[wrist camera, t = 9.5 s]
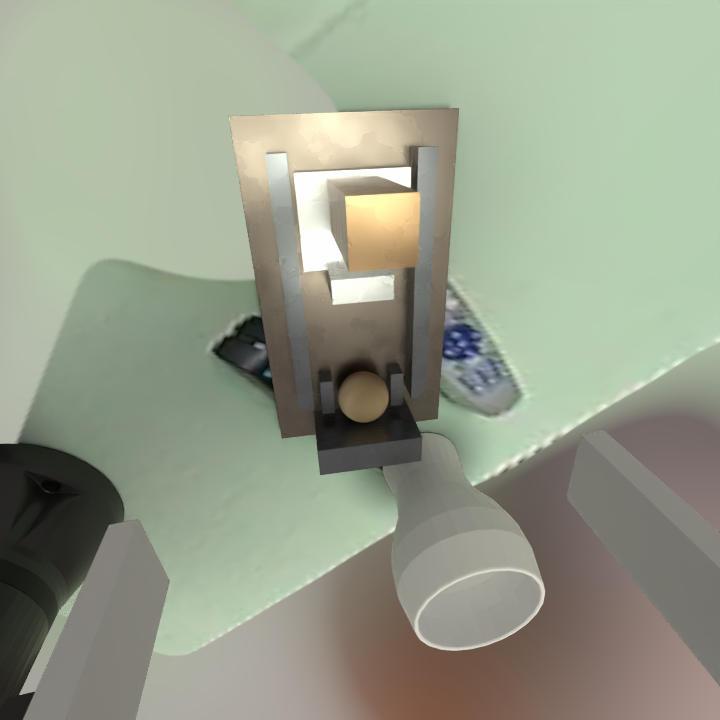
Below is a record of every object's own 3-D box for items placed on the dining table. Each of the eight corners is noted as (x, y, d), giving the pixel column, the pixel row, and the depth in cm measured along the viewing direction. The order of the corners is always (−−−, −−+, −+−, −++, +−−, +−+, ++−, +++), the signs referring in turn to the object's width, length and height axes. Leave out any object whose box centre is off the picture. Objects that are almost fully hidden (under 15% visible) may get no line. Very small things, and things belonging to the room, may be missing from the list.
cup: (346, 469, 40) (373, 628, 27) (427, 401, 38) (500, 540, 24) (413, 514, 45) (464, 668, 32) (489, 456, 42) (579, 597, 29)
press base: (282, 427, 36) (280, 480, 31) (231, 117, 25) (214, 110, 19) (432, 409, 38) (457, 456, 32) (450, 109, 26) (494, 101, 21)
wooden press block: (305, 289, 29) (313, 354, 20) (293, 171, 25) (295, 188, 16) (404, 280, 30) (453, 340, 21) (406, 165, 26) (466, 179, 17)
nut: (337, 406, 34) (342, 435, 31) (333, 365, 32) (339, 392, 29) (383, 400, 35) (393, 429, 31) (382, 360, 33) (393, 385, 29)
